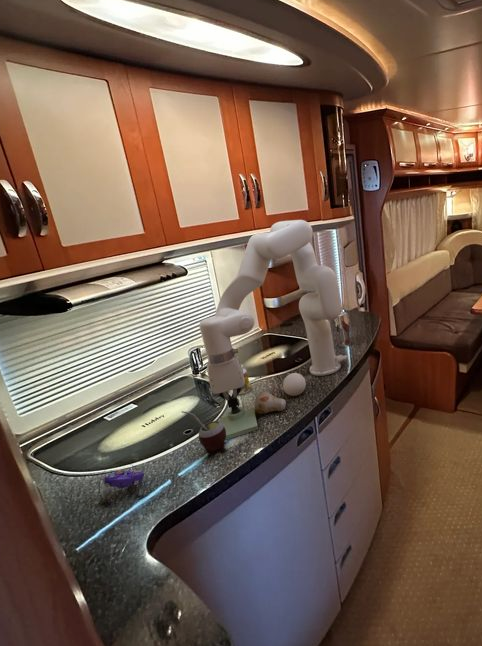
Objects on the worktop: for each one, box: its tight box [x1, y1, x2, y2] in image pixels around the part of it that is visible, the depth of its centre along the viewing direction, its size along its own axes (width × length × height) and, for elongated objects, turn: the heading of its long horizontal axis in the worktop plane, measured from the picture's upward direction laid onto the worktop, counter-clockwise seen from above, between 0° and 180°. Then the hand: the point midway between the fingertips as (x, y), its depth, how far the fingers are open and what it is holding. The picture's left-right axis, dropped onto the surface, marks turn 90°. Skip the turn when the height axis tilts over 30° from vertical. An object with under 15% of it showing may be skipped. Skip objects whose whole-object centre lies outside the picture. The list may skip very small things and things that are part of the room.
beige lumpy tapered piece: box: [254, 391, 287, 415], centre depth 123 cm, size 8×10×10 cm
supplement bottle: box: [238, 364, 252, 395], centre depth 139 cm, size 6×6×10 cm
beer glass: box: [333, 311, 352, 348], centre depth 171 cm, size 7×7×15 cm
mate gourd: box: [181, 410, 227, 458], centre depth 105 cm, size 8×8×15 cm
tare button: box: [230, 405, 240, 414], centre depth 121 cm, size 2×2×2 cm
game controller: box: [98, 462, 145, 505], centre depth 95 cm, size 10×8×10 cm
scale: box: [218, 406, 259, 441], centre depth 118 cm, size 11×13×3 cm
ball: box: [282, 372, 307, 397], centre depth 132 cm, size 8×8×8 cm
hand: (234, 408), depth 120 cm, fingers closed
